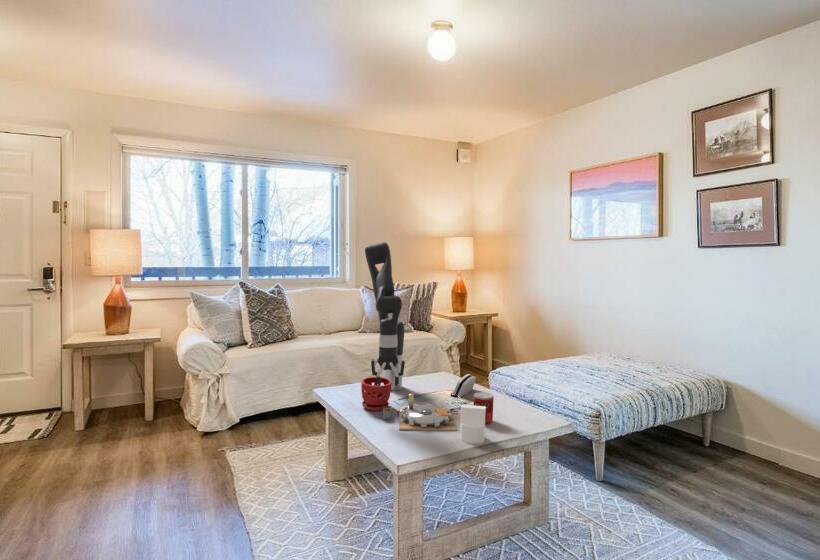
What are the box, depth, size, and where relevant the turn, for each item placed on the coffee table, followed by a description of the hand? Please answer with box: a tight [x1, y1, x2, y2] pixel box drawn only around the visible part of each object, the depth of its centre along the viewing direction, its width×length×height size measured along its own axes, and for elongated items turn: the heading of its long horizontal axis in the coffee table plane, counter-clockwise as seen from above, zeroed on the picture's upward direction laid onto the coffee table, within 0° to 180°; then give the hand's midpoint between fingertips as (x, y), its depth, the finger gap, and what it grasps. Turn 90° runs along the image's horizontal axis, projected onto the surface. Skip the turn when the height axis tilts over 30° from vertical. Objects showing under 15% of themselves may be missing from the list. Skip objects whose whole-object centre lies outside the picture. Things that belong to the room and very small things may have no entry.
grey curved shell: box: [449, 373, 477, 398], centre depth 227 cm, size 17×5×10 cm, turn 150°
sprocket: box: [401, 392, 453, 427], centre depth 191 cm, size 20×20×8 cm
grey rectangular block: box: [382, 405, 392, 422], centre depth 193 cm, size 6×3×4 cm, turn 1°
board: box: [398, 408, 457, 432], centre depth 192 cm, size 22×22×1 cm
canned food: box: [473, 391, 494, 426], centre depth 191 cm, size 8×8×11 cm
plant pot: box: [360, 376, 392, 412], centre depth 204 cm, size 13×13×12 cm
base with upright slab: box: [459, 404, 486, 445], centre depth 174 cm, size 9×9×12 cm
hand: (387, 385), depth 192 cm, fingers open, 6 cm apart
